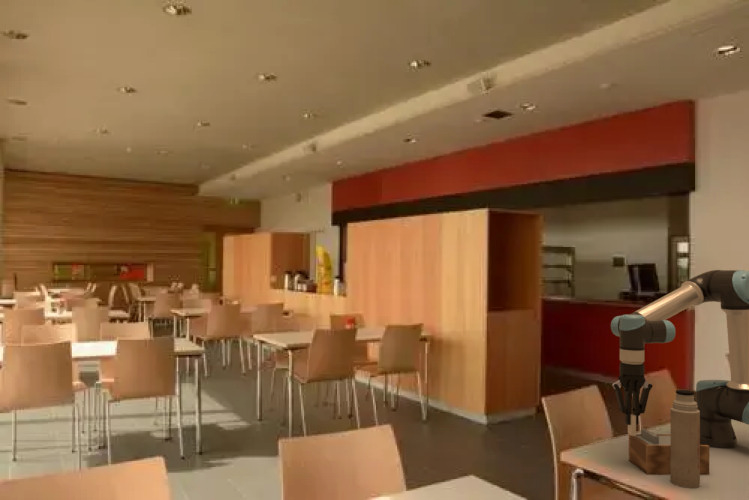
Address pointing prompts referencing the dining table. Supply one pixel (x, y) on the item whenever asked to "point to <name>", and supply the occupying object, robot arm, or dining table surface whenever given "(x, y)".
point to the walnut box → (659, 456)
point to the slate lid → (654, 438)
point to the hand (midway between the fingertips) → (631, 434)
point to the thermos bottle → (685, 441)
